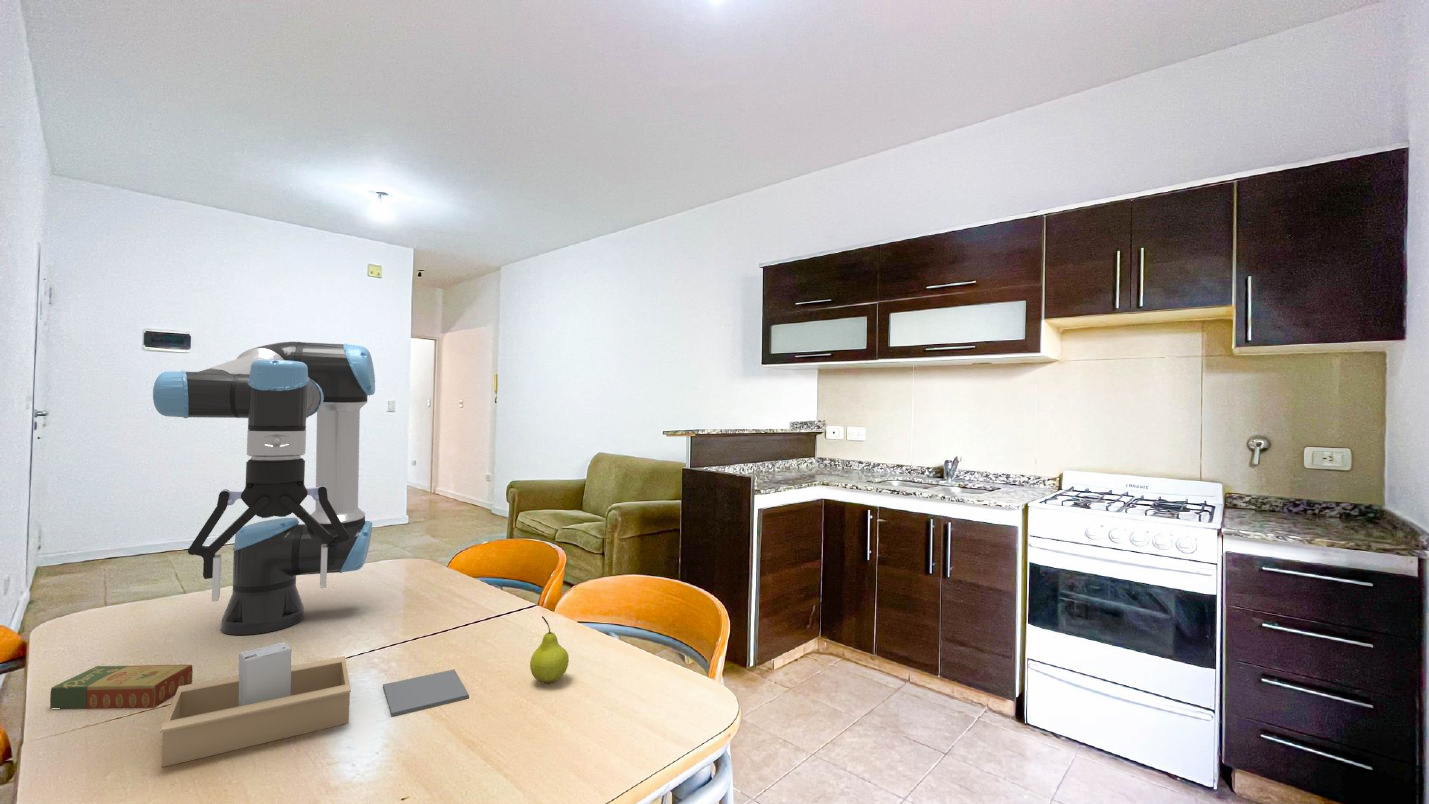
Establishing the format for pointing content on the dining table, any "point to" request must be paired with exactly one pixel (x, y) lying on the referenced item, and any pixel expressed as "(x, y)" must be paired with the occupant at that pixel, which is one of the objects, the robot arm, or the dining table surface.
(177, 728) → the tray
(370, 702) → the dining table surface
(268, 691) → the skincare box
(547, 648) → the fruit
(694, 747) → the dining table surface
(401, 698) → the mat
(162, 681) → the carton
